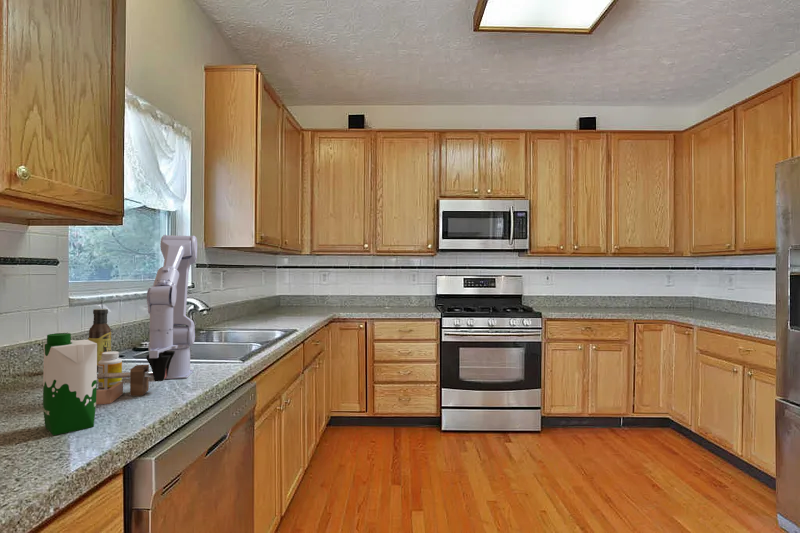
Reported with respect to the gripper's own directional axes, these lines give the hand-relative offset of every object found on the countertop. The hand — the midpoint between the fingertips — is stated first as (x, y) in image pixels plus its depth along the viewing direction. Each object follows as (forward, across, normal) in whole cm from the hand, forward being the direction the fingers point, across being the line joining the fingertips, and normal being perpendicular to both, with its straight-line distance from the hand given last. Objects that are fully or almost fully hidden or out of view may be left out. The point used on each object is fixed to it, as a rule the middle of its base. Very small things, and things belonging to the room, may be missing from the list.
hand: (160, 379), depth 125 cm
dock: (+3, -4, +14) cm, 15 cm away
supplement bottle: (+4, +6, +14) cm, 16 cm away
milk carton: (+4, -26, +11) cm, 28 cm away
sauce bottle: (+4, +32, +26) cm, 41 cm away
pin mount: (+3, 0, +5) cm, 6 cm away
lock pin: (0, 0, +7) cm, 7 cm away
